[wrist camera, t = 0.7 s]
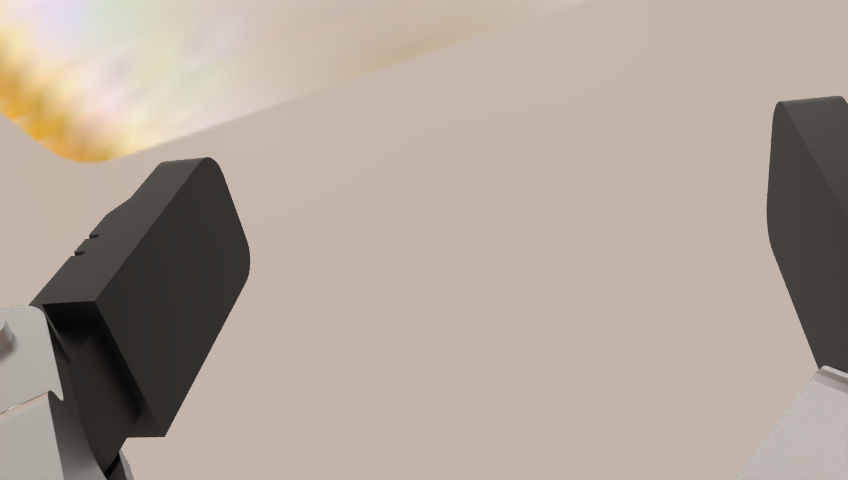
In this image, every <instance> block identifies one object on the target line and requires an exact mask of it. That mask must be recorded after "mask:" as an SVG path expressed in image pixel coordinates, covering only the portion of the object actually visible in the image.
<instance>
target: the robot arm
mask: <svg viewBox="0 0 848 480" xmlns="http://www.w3.org/2000/svg"><path fill="white" fill-rule="evenodd" d="M767 225H768V234H769V239H770V244H771V248H772V250H773V253H774V256H775V258H776V261H777V263H778V266H779V269H780V271H781V274H782V276H783V279H784V281H785V284H786V287H787V289H788V292H789V294H790V297H791V299H792V302H793V305H794V307H795V310H796V312H797V315H798V317H799V320H800V322H801V325H802V328H803V330H804V333H805V335H806V338H807V340H808V343H809V345H810V348H811V351H812V353H813V356H814V358H815V361H816V363H817V366H818V369H819V370H818V371H817V372H816V373H815V375H814V376H813V377H812V378H811V379H810V380H809V382H808V383H807V385H806V386H805V387H804V388H803V390H802V391H801V392H800V394H799V395H798V396H797V398H796V399H795V400H794V402H793V403H792V404H791V406H790V407H789V408H788V409H787V411H786V412H785V414H784V415H783V416H782V417H781V419H780V420H779V421H778V423H777V424H776V425H775V427H774V428H773V429H772V431H771V432H770V433H769V434H768V436H767V437H766V438H765V440H764V441H763V443H762V444H761V445H760V447H759V448H758V449H757V450H756V452H755V453H754V454H753V456H752V457H751V458H750V460H749V461H748V462H747V464H746V465H745V466H744V467H743V469H742V470H741V471H740V473H739V474H738V475H737V477H736V478H735V479H734V480H848V104H847V102H846V101H845V99H844V98H843V97H841V96H832V97H821V98H812V99H801V100H791V101H781V102H778V103H777V105H776V107H775V110H774V116H773V124H772V138H771V152H770V167H769V181H768V194H767ZM249 270H250V252H249V246H248V243H247V239H246V237H245V234H244V231H243V228H242V225H241V223H240V220H239V217H238V214H237V212H236V209H235V206H234V203H233V200H232V198H231V195H230V192H229V189H228V187H227V184H226V181H225V178H224V175H223V173H222V171H221V169H220V167H219V165H218V164H217V162H216V161H215V160H213V159H212V158H209V157H206V158H196V159H188V160H187V159H186V160H176V161H166V162H162V163H160V164H159V165H158V166H157V167H156V168H155V170H154V171H153V172H152V173H151V174H150V176H149V177H148V178H147V179H146V180H145V182H144V183H143V184H142V185H141V186H140V188H139V189H138V190H137V191H136V192H135V193H134V195H133V196H132V197H131V198H130V199H128V200H127V201H126V202H124V203H123V204H121V205H120V206H118V207H117V208H115V209H114V210H113V211H111V212H110V213H108V214H107V215H106V216H105V217H104V218H103V219H102V221H101V222H100V223H99V224H98V225H97V227H96V228H95V229H94V230H93V231H92V232H91V233H90V235H89V239H85V240H84V242H83V243H82V244H81V245H80V246H79V247H78V248H77V250H76V251H75V256H71V257H70V258H69V259H68V260H67V261H66V262H65V264H64V265H63V266H62V267H61V268H60V269H59V271H58V272H57V273H56V274H55V275H54V277H52V279H51V280H50V281H49V282H48V283H47V285H46V286H45V287H44V288H43V289H42V290H41V291H40V293H39V294H38V295H37V296H36V297H35V298H34V300H33V301H32V302H31V303H30V304H29V305H28V306H26V305H20V306H11V307H5V308H1V309H0V480H134V479H133V475H132V472H131V469H130V466H129V464H128V461H127V459H126V458H125V456H124V454H123V452H122V451H121V447H122V445H123V443H124V442H125V440H126V438H128V437H165V435H166V433H167V431H168V429H169V427H170V426H171V424H172V422H173V420H174V418H175V416H176V414H177V412H178V410H179V409H180V407H181V405H182V403H183V401H184V399H185V397H186V395H187V393H188V391H189V389H190V387H191V386H192V384H193V382H194V380H195V378H196V376H197V374H198V372H199V371H200V369H201V366H202V365H203V363H204V361H205V359H206V357H207V355H208V353H209V352H210V350H211V348H212V346H213V344H214V342H215V340H216V338H217V336H218V334H219V333H220V330H221V329H222V327H223V325H224V323H225V321H226V319H227V317H228V315H229V313H230V312H231V309H232V308H233V306H234V304H235V302H236V300H237V298H238V296H239V294H240V292H241V291H242V289H243V287H244V285H245V283H246V281H247V278H248V275H249Z"/></svg>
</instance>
